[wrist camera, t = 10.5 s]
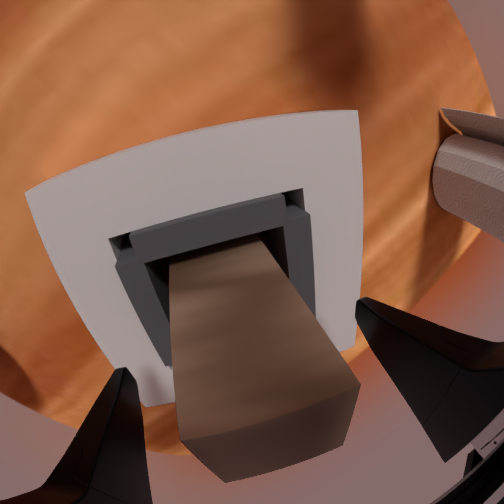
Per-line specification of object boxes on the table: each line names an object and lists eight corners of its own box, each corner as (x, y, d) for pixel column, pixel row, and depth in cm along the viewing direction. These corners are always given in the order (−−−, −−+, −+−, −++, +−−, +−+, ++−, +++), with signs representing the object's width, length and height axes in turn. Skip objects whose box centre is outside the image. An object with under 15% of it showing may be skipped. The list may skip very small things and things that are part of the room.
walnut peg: (191, 306, 15) (224, 482, 7) (169, 242, 13) (180, 440, 5) (259, 287, 16) (342, 445, 7) (248, 222, 14) (360, 384, 5)
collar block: (145, 378, 17) (145, 413, 14) (48, 179, 10) (19, 195, 8) (337, 323, 19) (357, 351, 16) (328, 110, 12) (364, 110, 10)
